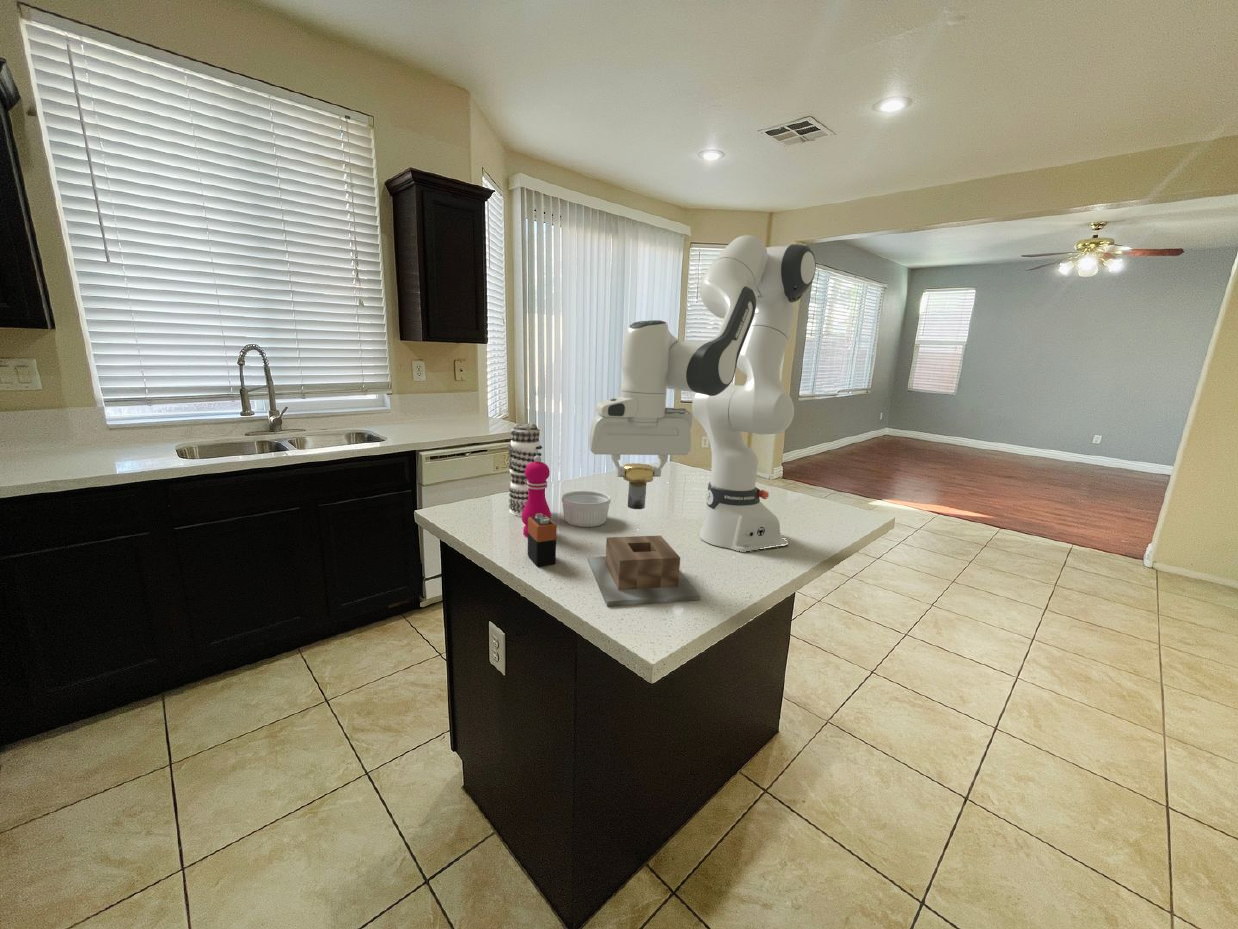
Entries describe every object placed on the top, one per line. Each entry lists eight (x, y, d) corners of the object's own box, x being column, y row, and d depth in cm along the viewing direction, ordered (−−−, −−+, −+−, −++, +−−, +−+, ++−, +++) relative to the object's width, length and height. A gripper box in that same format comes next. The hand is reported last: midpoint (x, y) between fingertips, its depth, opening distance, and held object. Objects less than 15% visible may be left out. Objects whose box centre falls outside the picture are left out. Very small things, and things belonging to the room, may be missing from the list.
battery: (536, 567, 103) (537, 522, 100) (526, 555, 108) (527, 512, 106) (556, 564, 105) (557, 520, 102) (545, 552, 110) (546, 510, 108)
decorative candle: (527, 504, 145) (528, 421, 139) (547, 512, 139) (549, 425, 133) (501, 511, 138) (501, 423, 132) (521, 519, 132) (522, 427, 127)
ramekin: (567, 511, 141) (568, 488, 139) (612, 515, 139) (614, 492, 138) (555, 526, 128) (556, 501, 126) (605, 531, 126) (606, 505, 125)
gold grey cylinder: (646, 502, 102) (649, 463, 100) (654, 511, 96) (657, 470, 94) (618, 502, 101) (620, 463, 99) (625, 511, 95) (627, 470, 93)
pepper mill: (544, 540, 118) (546, 459, 113) (516, 537, 119) (517, 456, 115) (554, 530, 124) (556, 454, 120) (527, 527, 126) (528, 451, 122)
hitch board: (665, 557, 111) (667, 528, 110) (699, 600, 92) (703, 565, 91) (588, 561, 107) (589, 531, 105) (606, 606, 88) (608, 570, 87)
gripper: (687, 406, 99) (682, 472, 102) (588, 403, 95) (585, 472, 98) (699, 410, 93) (693, 480, 96) (594, 407, 89) (591, 480, 92)
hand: (638, 476), depth 97 cm, fingers closed on gold grey cylinder, 6 cm apart
